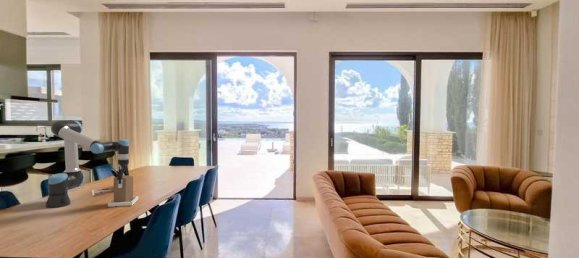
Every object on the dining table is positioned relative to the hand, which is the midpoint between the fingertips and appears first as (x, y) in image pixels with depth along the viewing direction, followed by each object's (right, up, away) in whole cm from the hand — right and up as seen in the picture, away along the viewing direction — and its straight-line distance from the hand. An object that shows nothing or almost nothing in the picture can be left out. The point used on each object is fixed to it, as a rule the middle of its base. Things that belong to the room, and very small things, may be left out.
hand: (123, 185), depth 241 cm
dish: (0, -14, +1) cm, 14 cm away
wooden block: (0, -13, +1) cm, 13 cm away
